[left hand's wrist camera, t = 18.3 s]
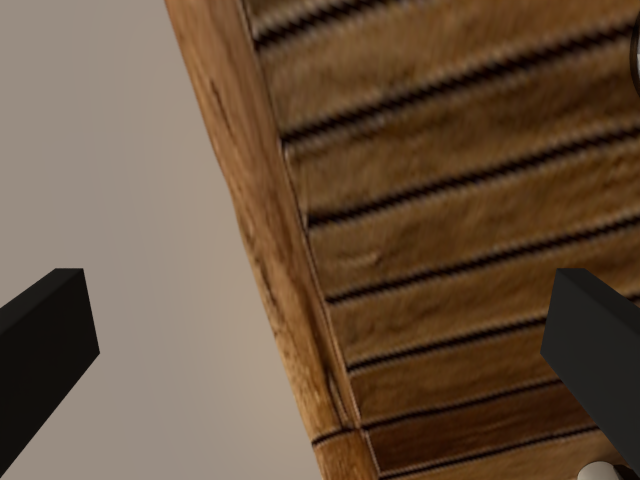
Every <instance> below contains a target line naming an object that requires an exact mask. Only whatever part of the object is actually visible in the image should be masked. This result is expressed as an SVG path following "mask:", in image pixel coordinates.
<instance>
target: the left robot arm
mask: <svg viewBox="0 0 640 480" xmlns="http://www.w3.org/2000/svg"><path fill="white" fill-rule="evenodd" d="M630 70H631V76H632V79H633V83H634V86H635V88H636V91H637V93H638V95H639V97H640V13H639V15H638V18H637V20H636V23H635V26H634V30H633V34H632V39H631V45H630ZM99 354H100V351H99V346H98V341H97V336H96V331H95V326H94V321H93V316H92V311H91V306H90V301H89V295H88V290H87V285H86V280H85V275H84V270H83V268H55V269H54V270H53V271H51V272H50V273H48V274H47V275H46V276H44V277H43V278H42V279H40V280H39V281H37V282H36V283H35V284H33V285H32V286H30V287H29V288H28V289H26V290H25V291H24V292H22V293H21V294H19V295H18V296H17V297H15V298H14V299H12V300H11V301H10V302H8V303H7V304H6V305H4V306H3V307H1V308H0V478H1V477H2V475H3V474H4V473H5V472H6V470H7V469H8V468H9V467H10V465H11V464H12V463H13V462H14V460H15V459H16V458H17V457H18V455H19V454H20V453H21V452H22V450H23V449H24V448H25V447H26V445H27V444H28V443H29V441H30V440H31V439H32V438H33V437H34V435H35V434H36V433H37V432H38V430H39V429H40V428H41V427H42V425H43V424H44V423H45V421H46V420H47V419H48V418H49V417H50V415H51V414H52V413H53V412H54V410H55V409H56V408H57V406H58V405H59V404H60V403H61V401H62V400H63V399H64V398H65V396H66V395H67V394H68V393H69V391H70V390H71V389H72V388H73V386H74V385H75V384H76V383H77V381H78V380H79V379H80V378H81V376H82V375H83V374H84V373H85V371H86V370H87V369H88V368H89V366H90V365H91V364H92V363H93V361H94V360H95V359H96V358H97V356H98V355H99ZM540 354H541V355H542V356H543V358H544V359H545V360H546V361H547V363H548V364H549V365H550V366H551V368H552V369H553V370H554V371H555V373H556V374H557V375H558V376H559V378H560V379H561V380H562V381H563V383H564V384H565V385H566V386H567V388H568V389H569V390H570V391H571V393H572V394H573V395H574V396H575V398H576V399H577V400H578V401H579V403H580V404H581V405H582V406H583V408H584V409H585V410H586V412H587V413H588V414H589V415H590V417H591V418H592V419H593V420H594V422H595V423H596V424H597V425H598V427H599V428H600V429H601V430H602V432H603V433H604V434H605V435H606V437H607V438H608V439H609V440H610V442H611V443H612V444H613V445H614V447H615V448H616V449H617V450H618V452H619V453H620V454H621V455H622V457H623V458H624V459H625V460H626V462H627V463H628V464H629V465H630V467H631V468H632V469H633V470H634V472H635V473H636V474H637V475H638V477H639V478H640V308H639V307H637V306H636V305H634V304H633V303H632V302H630V301H629V300H628V299H626V298H625V297H623V296H622V295H621V294H619V293H618V292H616V291H615V290H614V289H612V288H611V287H610V286H608V285H607V284H605V283H604V282H603V281H601V280H600V279H598V278H597V277H596V276H594V275H593V274H592V273H590V272H589V271H587V270H586V269H585V268H557V270H556V275H555V280H554V285H553V290H552V295H551V301H550V306H549V311H548V316H547V321H546V326H545V331H544V336H543V341H542V346H541V351H540Z"/></svg>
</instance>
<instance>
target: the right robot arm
mask: <svg viewBox="0 0 640 480" xmlns="http://www.w3.org/2000/svg"><path fill="white" fill-rule="evenodd" d="M613 469H614V471H615V473H616V475H617V477H618V479H619V480H640V478H639V477H638V475H637V474H636V473H635V472H634V471H633V470H631V469H629V468H627V467H626V466H624V465H614V466H613Z"/></svg>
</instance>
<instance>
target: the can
mask: <svg viewBox="0 0 640 480" xmlns="http://www.w3.org/2000/svg"><path fill="white" fill-rule="evenodd" d="M578 480H619V479H618V477H617V475H616V473H615V471H614V469H613V466H612V465H611V464H609V463H607V462H594V463H590V464H588V465H587V466H585V467H584V468H583V469H582V470H581V471H580V472H579V474H578Z"/></svg>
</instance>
